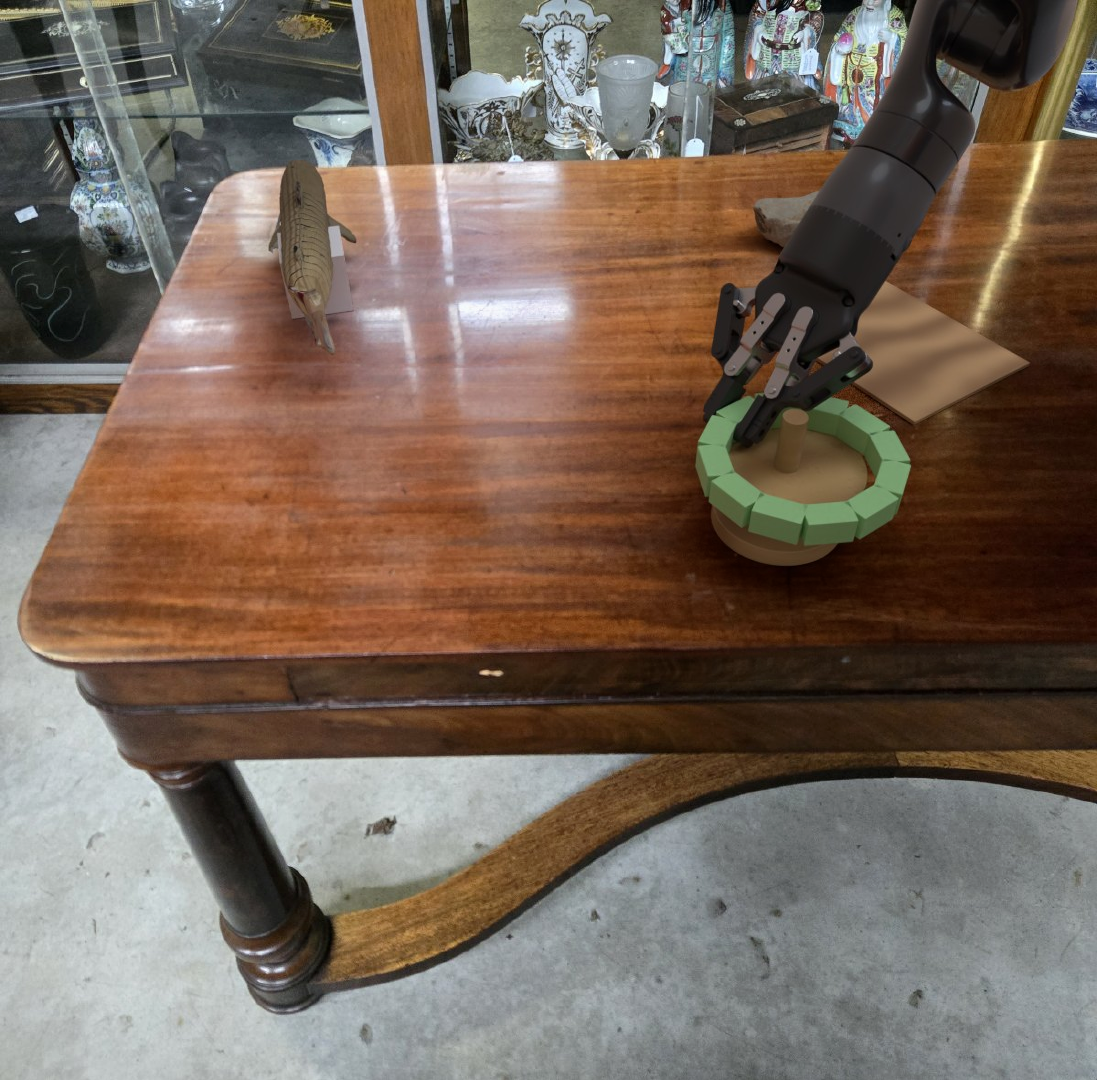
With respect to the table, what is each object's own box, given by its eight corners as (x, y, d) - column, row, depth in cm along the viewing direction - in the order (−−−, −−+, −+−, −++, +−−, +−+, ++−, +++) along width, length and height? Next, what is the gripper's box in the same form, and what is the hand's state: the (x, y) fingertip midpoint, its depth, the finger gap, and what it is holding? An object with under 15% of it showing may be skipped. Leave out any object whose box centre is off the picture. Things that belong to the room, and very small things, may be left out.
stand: (885, 532, 79) (916, 428, 72) (771, 597, 74) (792, 493, 67) (780, 452, 86) (798, 350, 79) (670, 507, 81) (679, 404, 74)
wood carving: (284, 423, 90) (256, 311, 82) (270, 231, 114) (248, 131, 106) (387, 408, 91) (369, 296, 83) (352, 221, 115) (336, 121, 107)
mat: (1028, 366, 94) (1030, 362, 93) (913, 425, 88) (914, 421, 88) (865, 273, 106) (865, 269, 105) (754, 319, 100) (754, 316, 100)
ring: (945, 487, 74) (952, 465, 73) (801, 576, 68) (805, 554, 67) (796, 389, 83) (800, 368, 81) (656, 460, 77) (658, 439, 75)
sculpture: (845, 211, 117) (733, 231, 112) (858, 171, 113) (742, 189, 108) (885, 242, 112) (770, 264, 107) (899, 201, 109) (781, 221, 104)
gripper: (762, 175, 76) (636, 379, 79) (924, 241, 68) (778, 466, 71) (799, 219, 82) (681, 408, 85) (951, 285, 74) (816, 490, 77)
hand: (726, 433), depth 78 cm, fingers closed on ring, 2 cm apart
